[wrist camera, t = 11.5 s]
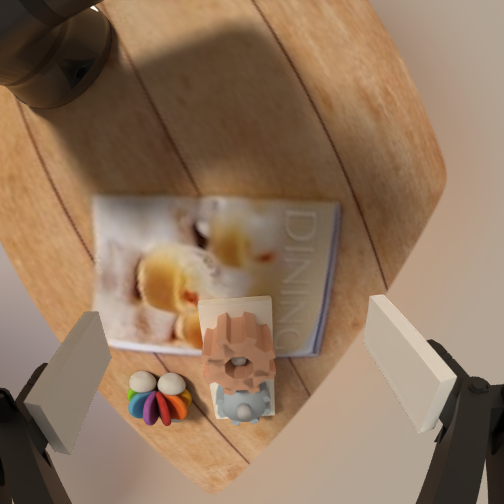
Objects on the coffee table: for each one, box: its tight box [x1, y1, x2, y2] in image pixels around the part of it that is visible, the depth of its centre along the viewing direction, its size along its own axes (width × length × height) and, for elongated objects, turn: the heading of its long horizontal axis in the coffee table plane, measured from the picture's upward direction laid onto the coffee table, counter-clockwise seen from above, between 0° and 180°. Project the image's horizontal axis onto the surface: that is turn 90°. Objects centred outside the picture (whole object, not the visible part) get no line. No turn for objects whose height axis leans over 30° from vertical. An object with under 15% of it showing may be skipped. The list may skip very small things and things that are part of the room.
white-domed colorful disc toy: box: [127, 371, 192, 426], centre depth 41 cm, size 8×10×7 cm
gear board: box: [198, 295, 275, 425], centre depth 40 cm, size 9×20×6 cm, turn 3°
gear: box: [201, 311, 277, 396], centre depth 38 cm, size 8×8×6 cm
